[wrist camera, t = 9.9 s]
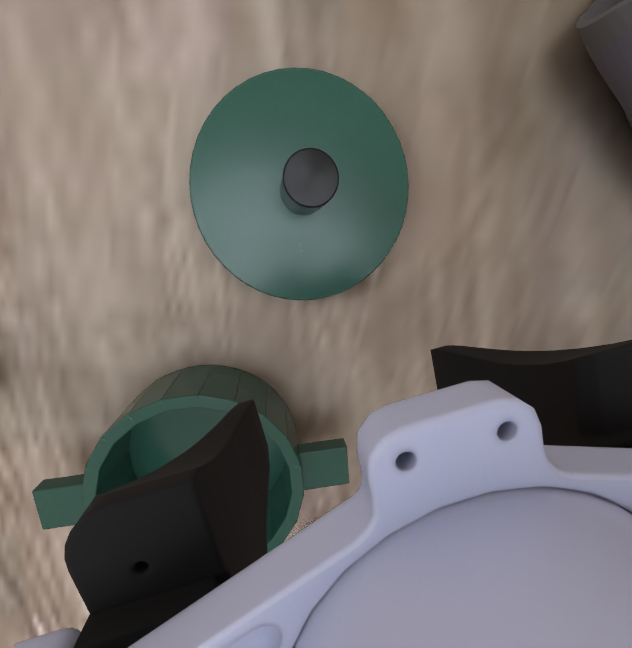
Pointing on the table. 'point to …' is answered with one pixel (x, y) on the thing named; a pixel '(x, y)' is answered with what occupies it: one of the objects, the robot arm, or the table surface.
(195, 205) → the lid
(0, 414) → the table surface
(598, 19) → the bluetooth speaker
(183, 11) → the table surface
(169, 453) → the pot
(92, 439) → the table surface
